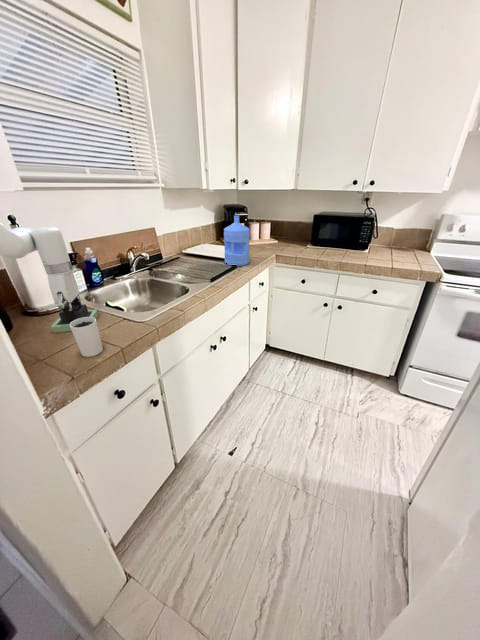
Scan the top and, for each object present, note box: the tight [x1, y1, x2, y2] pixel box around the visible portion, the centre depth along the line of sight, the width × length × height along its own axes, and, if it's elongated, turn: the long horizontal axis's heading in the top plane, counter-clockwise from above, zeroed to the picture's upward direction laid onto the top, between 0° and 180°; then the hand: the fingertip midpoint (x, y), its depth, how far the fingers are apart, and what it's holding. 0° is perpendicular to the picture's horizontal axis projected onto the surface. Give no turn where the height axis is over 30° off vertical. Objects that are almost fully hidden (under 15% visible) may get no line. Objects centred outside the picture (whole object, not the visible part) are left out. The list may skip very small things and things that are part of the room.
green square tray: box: [50, 309, 99, 333], centre depth 94 cm, size 12×12×2 cm
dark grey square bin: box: [58, 304, 89, 323], centre depth 93 cm, size 7×7×4 cm
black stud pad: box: [58, 305, 92, 325], centre depth 93 cm, size 8×8×5 cm
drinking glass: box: [70, 317, 104, 358], centre depth 76 cm, size 7×7×10 cm
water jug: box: [223, 215, 251, 267], centre depth 158 cm, size 16×16×28 cm
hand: (75, 315), depth 93 cm, fingers closed on dark grey square bin, 6 cm apart
